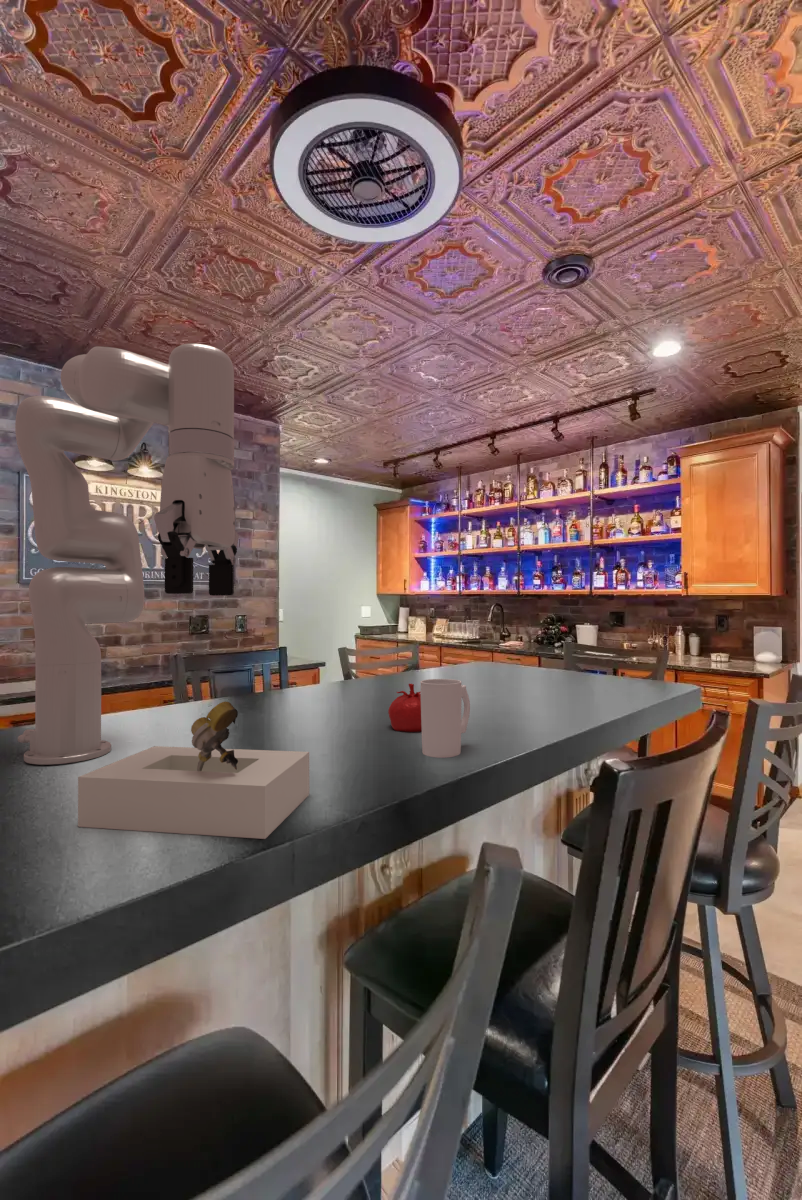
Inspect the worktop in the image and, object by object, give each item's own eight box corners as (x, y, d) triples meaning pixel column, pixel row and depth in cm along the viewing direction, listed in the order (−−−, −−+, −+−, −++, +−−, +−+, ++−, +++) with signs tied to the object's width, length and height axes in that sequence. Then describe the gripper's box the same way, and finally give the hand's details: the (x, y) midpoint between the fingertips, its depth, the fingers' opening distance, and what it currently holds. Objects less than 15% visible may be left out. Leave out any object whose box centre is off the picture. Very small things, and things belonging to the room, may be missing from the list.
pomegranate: (433, 738, 103) (433, 687, 103) (382, 735, 106) (381, 686, 106) (444, 727, 112) (443, 681, 113) (396, 724, 115) (396, 679, 115)
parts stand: (78, 826, 62) (78, 777, 62) (154, 786, 76) (154, 746, 76) (265, 838, 58) (265, 786, 58) (309, 794, 72) (309, 751, 72)
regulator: (169, 794, 67) (190, 694, 61) (197, 780, 70) (219, 683, 64) (208, 834, 64) (234, 732, 58) (235, 817, 67) (262, 719, 61)
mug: (440, 762, 86) (439, 685, 87) (412, 754, 92) (411, 681, 92) (484, 751, 93) (483, 679, 93) (455, 744, 98) (455, 676, 98)
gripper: (209, 472, 77) (209, 596, 76) (127, 433, 60) (126, 593, 59) (260, 469, 75) (260, 595, 75) (192, 429, 58) (191, 592, 58)
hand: (201, 594), depth 67 cm, fingers open, 9 cm apart
